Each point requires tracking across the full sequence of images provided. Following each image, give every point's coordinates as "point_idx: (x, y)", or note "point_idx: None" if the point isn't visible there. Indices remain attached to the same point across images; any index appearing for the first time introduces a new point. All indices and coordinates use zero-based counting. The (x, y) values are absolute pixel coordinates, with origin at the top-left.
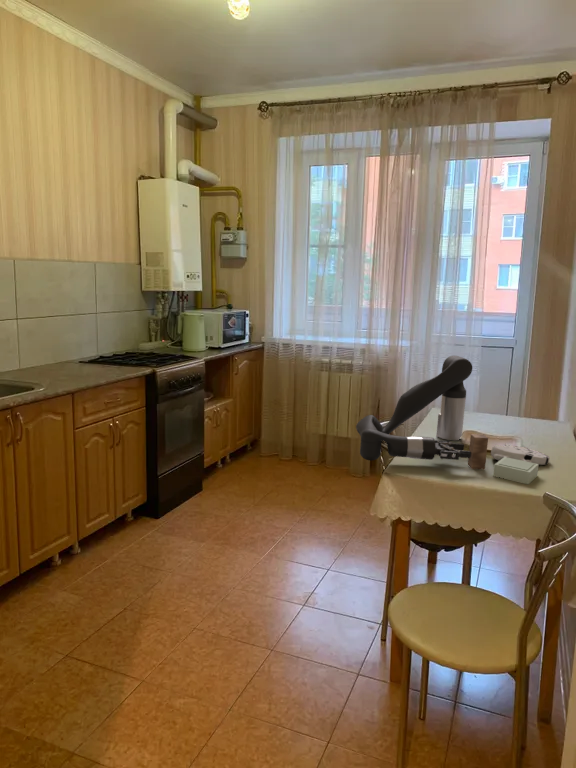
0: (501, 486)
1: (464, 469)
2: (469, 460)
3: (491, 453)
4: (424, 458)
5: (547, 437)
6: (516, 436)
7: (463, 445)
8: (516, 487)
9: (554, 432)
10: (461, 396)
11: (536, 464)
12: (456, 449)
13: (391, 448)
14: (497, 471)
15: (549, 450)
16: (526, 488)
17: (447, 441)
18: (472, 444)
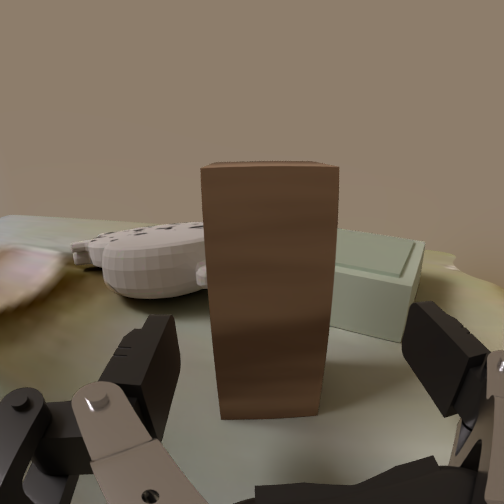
0: (501, 328)
1: (351, 453)
2: (253, 389)
3: (142, 285)
4: None
5: (37, 226)
6: (2, 245)
7: (174, 322)
8: (473, 302)
9: (25, 222)
10: None
11: None
12: (166, 408)
13: None
14: (408, 309)
15: (100, 231)
16: (459, 289)
17: (29, 414)
18: (292, 252)
